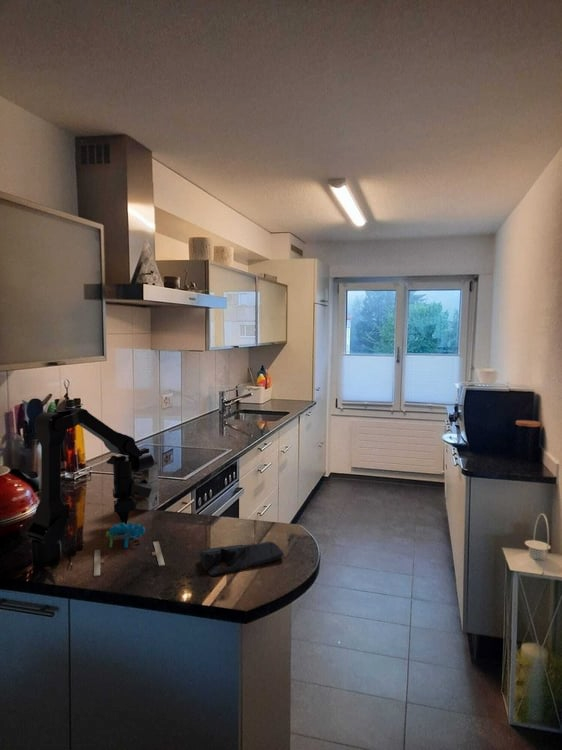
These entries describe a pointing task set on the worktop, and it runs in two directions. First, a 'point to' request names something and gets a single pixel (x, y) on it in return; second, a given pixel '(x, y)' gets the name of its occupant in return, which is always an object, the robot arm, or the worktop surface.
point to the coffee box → (152, 479)
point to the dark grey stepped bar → (238, 557)
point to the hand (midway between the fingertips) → (124, 525)
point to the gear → (124, 532)
